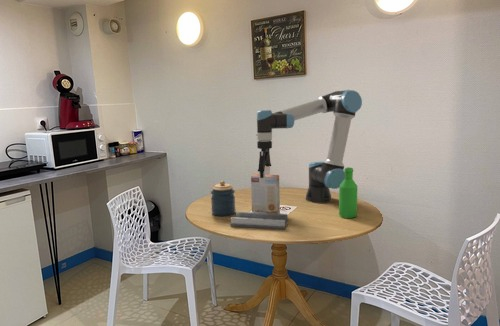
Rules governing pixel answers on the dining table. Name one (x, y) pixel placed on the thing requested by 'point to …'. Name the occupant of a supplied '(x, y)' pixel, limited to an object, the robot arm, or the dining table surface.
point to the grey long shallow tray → (260, 220)
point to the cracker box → (265, 194)
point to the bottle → (348, 195)
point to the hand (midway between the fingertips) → (264, 181)
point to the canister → (223, 199)
